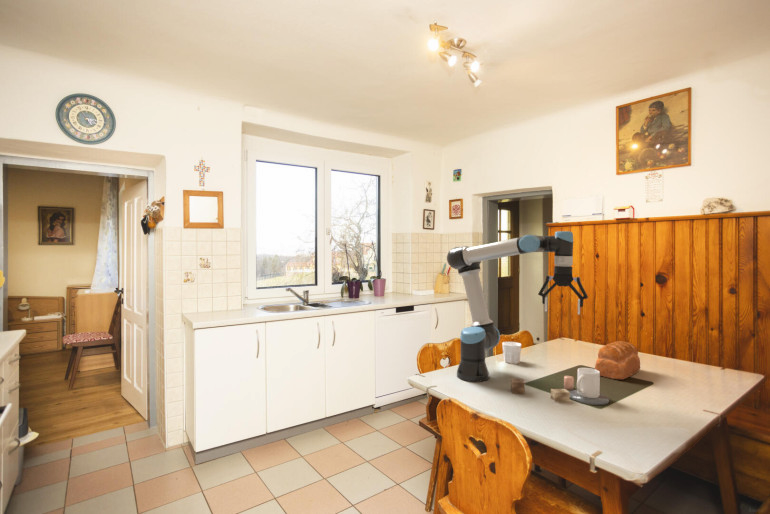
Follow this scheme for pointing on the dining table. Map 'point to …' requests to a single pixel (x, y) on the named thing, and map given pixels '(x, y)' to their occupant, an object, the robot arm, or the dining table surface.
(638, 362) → the bread
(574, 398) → the gray plate
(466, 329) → the robot arm
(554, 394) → the beech block
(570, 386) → the peach egg shape
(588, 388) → the mug
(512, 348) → the cup
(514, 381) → the walnut block
